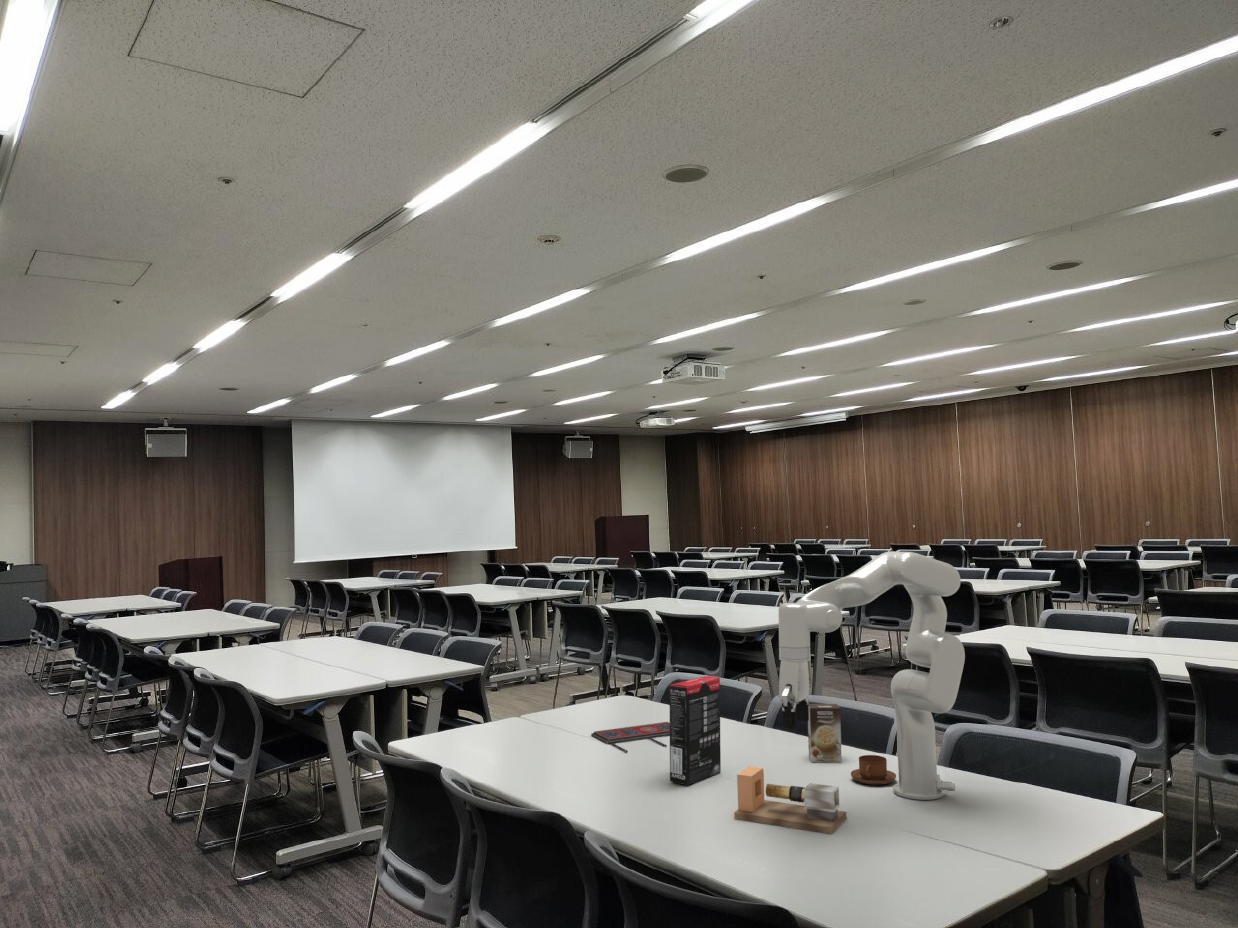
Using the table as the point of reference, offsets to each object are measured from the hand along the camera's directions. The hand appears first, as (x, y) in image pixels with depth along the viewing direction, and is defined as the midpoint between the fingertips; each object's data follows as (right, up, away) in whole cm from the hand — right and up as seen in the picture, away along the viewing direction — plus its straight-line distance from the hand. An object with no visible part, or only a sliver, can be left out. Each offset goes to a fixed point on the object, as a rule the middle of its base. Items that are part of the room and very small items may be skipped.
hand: (796, 724), depth 213 cm
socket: (-11, -21, +2) cm, 23 cm away
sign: (-34, -29, +78) cm, 90 cm away
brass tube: (0, -17, -4) cm, 18 cm away
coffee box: (+18, -25, +47) cm, 56 cm away
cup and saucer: (+26, -23, +25) cm, 43 cm away
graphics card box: (-22, -25, +32) cm, 46 cm away
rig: (-2, -22, -3) cm, 22 cm away
